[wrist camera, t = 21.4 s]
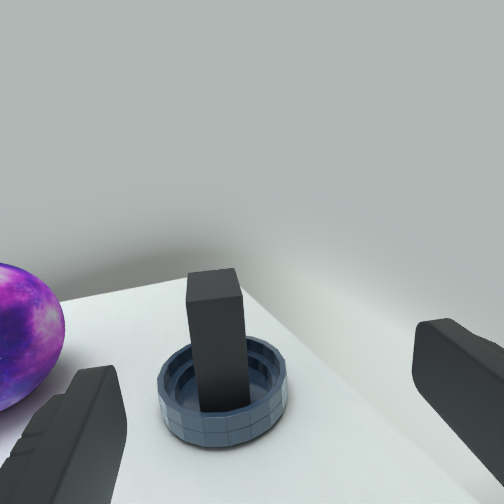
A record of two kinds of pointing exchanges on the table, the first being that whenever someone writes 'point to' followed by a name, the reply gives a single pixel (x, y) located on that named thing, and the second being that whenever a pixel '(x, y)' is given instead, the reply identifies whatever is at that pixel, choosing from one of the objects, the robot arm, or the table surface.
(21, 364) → the decorative orb
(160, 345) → the table surface
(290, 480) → the table surface
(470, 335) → the robot arm
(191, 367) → the bowl
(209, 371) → the dark grey upright block
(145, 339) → the table surface
